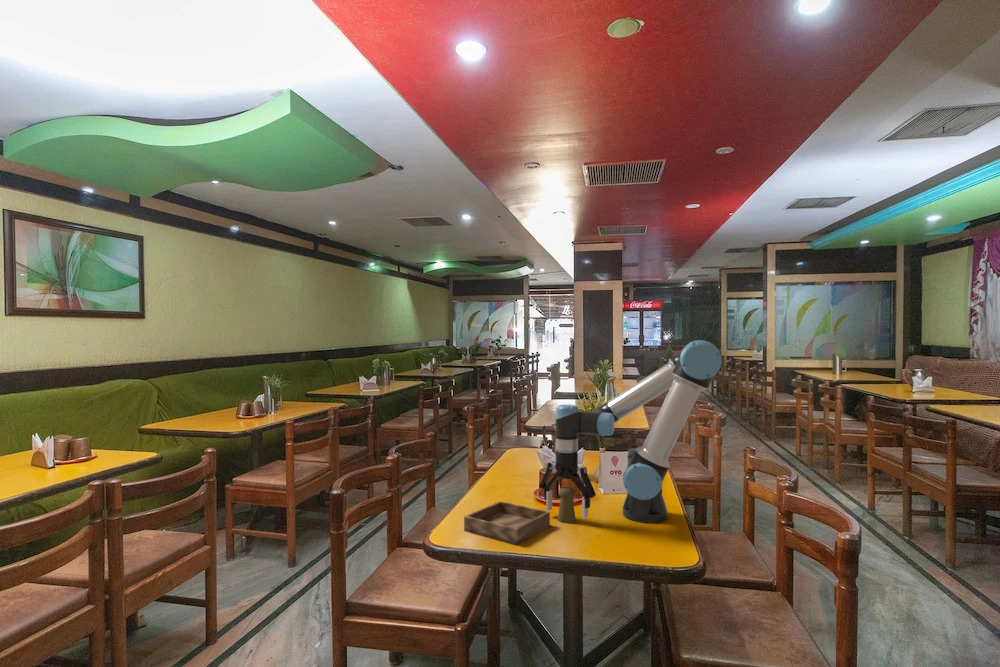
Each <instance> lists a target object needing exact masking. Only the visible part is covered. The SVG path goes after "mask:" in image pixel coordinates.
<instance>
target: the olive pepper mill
mask: <svg viewBox="0 0 1000 667" xmlns="http://www.w3.org/2000/svg"><path fill="white" fill-rule="evenodd" d="M558 495H559V497H560V501H559V507H558V516H557V521H558V522H559V523H562V524H573V523H575V522H576V521H577V520H576V513H575V505H574V497H575V490H574V489H573V488H572V487H570V486H563V487H561V488H559V490H558Z"/></svg>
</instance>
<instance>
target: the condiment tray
mask: <svg viewBox="0 0 1000 667" xmlns="http://www.w3.org/2000/svg"><path fill="white" fill-rule="evenodd" d="M550 526H551V512H550V511H546V510H542V509H538V508H535V507H529V506H524V505H520V504H516V503H511V502H506V501H501V500H500V501H498V502H494V503H492V504H490V505H488V506H486V507H483V508H481V509H479V510H477V511H473V512H471V513H470V514H467V515H465V516H464V517H463V531H464V532H468V533H470V534H474V535H478V536H481V537H485V538H488V539H491V540H496V541H498V542H499V541H500V542H503V543H507V544H509V545H510V544H511V545H514V546H517V545H520V544H521V543H523V542H525V541H526V540H528V539H530V538H531V537H533V536H535V535H536V534H538V533H540V532H541V531H544V530H545V529H547V528H548V527H550Z"/></svg>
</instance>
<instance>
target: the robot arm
mask: <svg viewBox="0 0 1000 667" xmlns="http://www.w3.org/2000/svg"><path fill="white" fill-rule="evenodd" d="M722 362H723V361H722V355H721V351H720V350H719V349H718V347H717V346H716V345H715V344H714V343H712V342H710V341H706V340H703V339H702V340H701V339H697V340H693V341H690V342H689V343H687V344H686V345H684V346H683V348H682V349H681V350H680V351H678V352H677V353H676V354H675V355H673V356H672V357H670V358H668V363H667V364H664V365H663V366H661V367H660V368H658V369H656V371H653V372H652V373H650V374H649V375H647V376H646V377H644V378H642V379H641V380H639V381H637V382H636V383H635V384H633V385H632V386H630V387H629V388H627V389H626V390H624V391H622V392H621V393H619V394H617V395H616V396H614V397H613V398H611V399H609V400H608V401H607V402H605V403H603V404H602V405H600V406H598V407H596V408H594V409H593V411H581V410H579V407H578V406H577V405H575V404H560V405H558V406H556V408H555V409H556V410H555V450H556V451H555V463H554V461H550V462H548V463H547V465H546V466H547V467H546V470H545V472H544V475H543V476H542V478H541V481H540V483H539V486H538V487H539V488H540V489H542V490H543V491H544V500H545V501H546V502H545V504H546V506H545V507H546V508H545V511H548V512H550V511H551V510H552V509H553V489H551V488H553V486H554V485H555V484H556V483H557V482H558V480H559V479H560V478H561V479H567V480H571V481H572V482H573V483H574V485H575V486H576V487H577V489H578V490H579V492H580V493H581V495H582V496H583V497H582V498H581V501H582V502H581V509H582V510H581V518H582V519H583V520H584V519H586V518H588V517H589V508H590V507H591V499H592V498H594V497H596V496H597V494H596V491H595V489H594V487H593V484H592V482H591V480H590V478H589V477H590V476H589V474H588V469H587V467H586V466H583V467H579V465H578V464H579V452H578V449H579V435H589V436H590V435H591V436H601V437H604V436H610V437H611V436H612V435H613V434H614V432H615V423H617V422H618V421H619V420H621V419H623V418H625V417H626V416H629V415H630V414H631V413H633V412H635V411H637V409H640V408H642V407H643V406H644V405H645V404H647V403H649V402H651V401H653V400H654V399H656V398H657V397H659V396H661V395H663V394H664V393H666V392H667V394H666V397H665V398H664V400H663V403H662V405H661V406H660V409H659V411H658V413H657V415H656V417H655V419H654V421H653V424H652V425H651V428H650V430H649V432H648V434H647V436H646V438H645V441H643V442H644V443H643V444H642V446H639V447H636V448H629V449H628V451H627V456H626V458H627V466H626V468H625V470H624V472H623V474H622V476H623V477H622V482H623V486H624V488H625V490H626V492H627V493H626V496H625V499H624V501H623V502H624V503H623V505H622V515H623V517H625V518H627V519H628V520H631V521H635V522H640V523H648V524H649V523H650V524H651V523H653V524H655V523H662V522H665V521H666V520H668V518H669V517H668V516H669V513H668V512H669V511H668V509H667V505H666V503H665V498H664V496H663V481H664V479H665V477H666V476H667V473H668V471H669V469H670V467H671V465H670V462H669V457H670V456H671V453H672V451H673V449H674V447H675V445H676V443H677V442H678V439H679V437H680V434H681V433H682V430H683V428H684V426H685V424H686V422H687V421H688V418H689V416H690V415H691V413H692V411H693V408H694V406H695V404H696V402H697V400H698V398H699V396H700V393H701V392H704V391H706V390H708V389H709V387H710V385H711V383H712V381H713V379H714V377H715V375H716V374H717V373H718V372H719V370H720V369H721V366H722ZM554 470H556V473H554V475H553V477H552V478H551V475H552V474H553V471H554ZM550 478H551V479H550ZM580 478H581V479H582V480H581V479H580ZM549 479H550V480H549Z"/></svg>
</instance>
